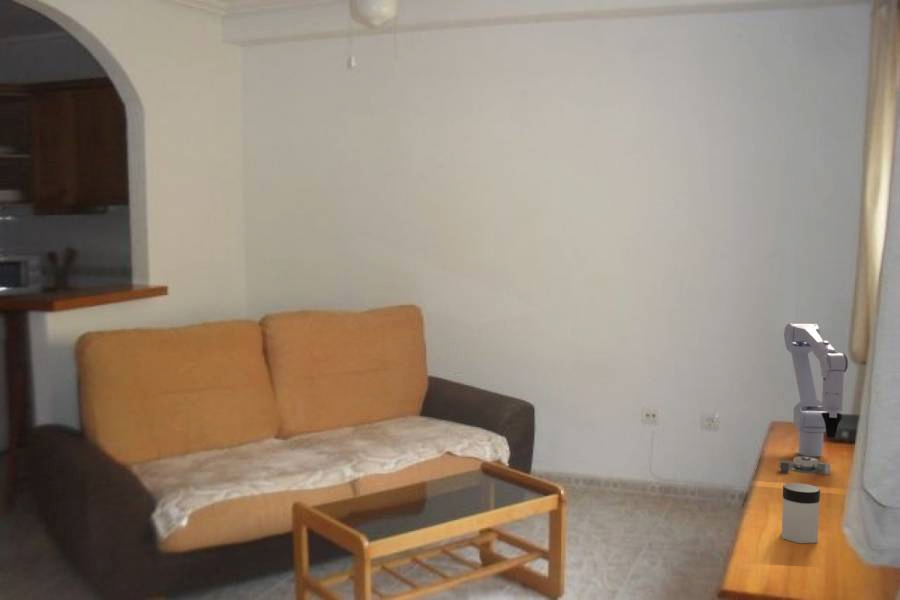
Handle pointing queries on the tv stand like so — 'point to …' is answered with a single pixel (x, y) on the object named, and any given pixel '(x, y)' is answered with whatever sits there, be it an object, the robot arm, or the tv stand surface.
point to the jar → (800, 513)
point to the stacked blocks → (784, 466)
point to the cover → (805, 463)
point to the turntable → (821, 468)
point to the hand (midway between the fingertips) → (830, 437)
